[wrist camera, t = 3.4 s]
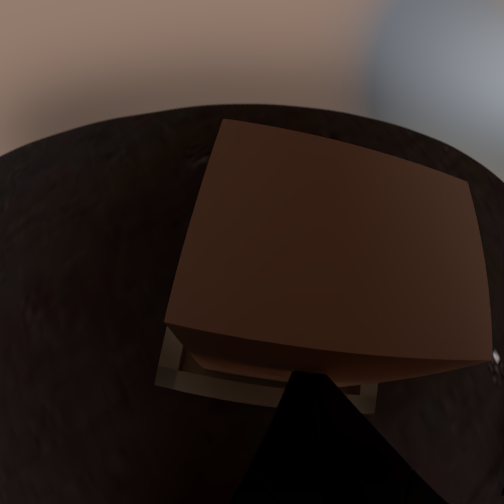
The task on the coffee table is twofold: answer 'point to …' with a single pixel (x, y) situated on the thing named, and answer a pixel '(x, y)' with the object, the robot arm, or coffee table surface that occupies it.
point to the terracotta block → (328, 263)
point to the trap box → (235, 381)
